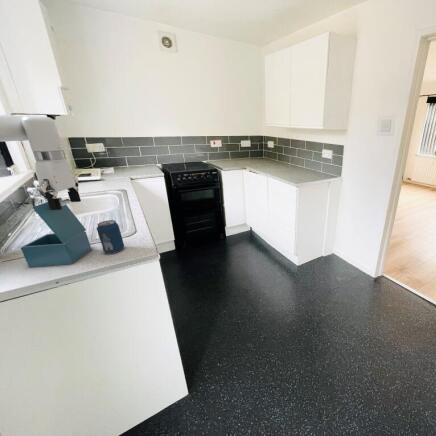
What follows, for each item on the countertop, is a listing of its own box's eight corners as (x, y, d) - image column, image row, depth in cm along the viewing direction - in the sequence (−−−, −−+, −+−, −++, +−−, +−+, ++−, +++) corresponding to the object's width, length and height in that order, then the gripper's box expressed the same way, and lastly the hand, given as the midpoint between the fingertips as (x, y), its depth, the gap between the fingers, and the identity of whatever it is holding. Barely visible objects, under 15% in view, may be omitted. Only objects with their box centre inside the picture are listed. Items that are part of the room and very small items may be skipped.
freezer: (29, 267, 87) (20, 247, 84) (54, 251, 98) (46, 233, 95) (71, 264, 89) (64, 244, 86) (91, 249, 100) (85, 231, 97)
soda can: (123, 245, 103) (115, 218, 99) (126, 250, 98) (118, 222, 94) (103, 250, 99) (94, 222, 94) (105, 256, 94) (96, 227, 90)
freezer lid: (32, 207, 80) (47, 201, 80) (58, 198, 91) (72, 192, 91) (63, 243, 86) (77, 237, 86) (84, 230, 97) (97, 225, 97)
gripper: (57, 154, 89) (71, 199, 95) (13, 159, 73) (34, 213, 79) (79, 153, 90) (93, 198, 96) (42, 159, 74) (60, 212, 80)
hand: (66, 205), depth 87 cm, fingers open, 9 cm apart
